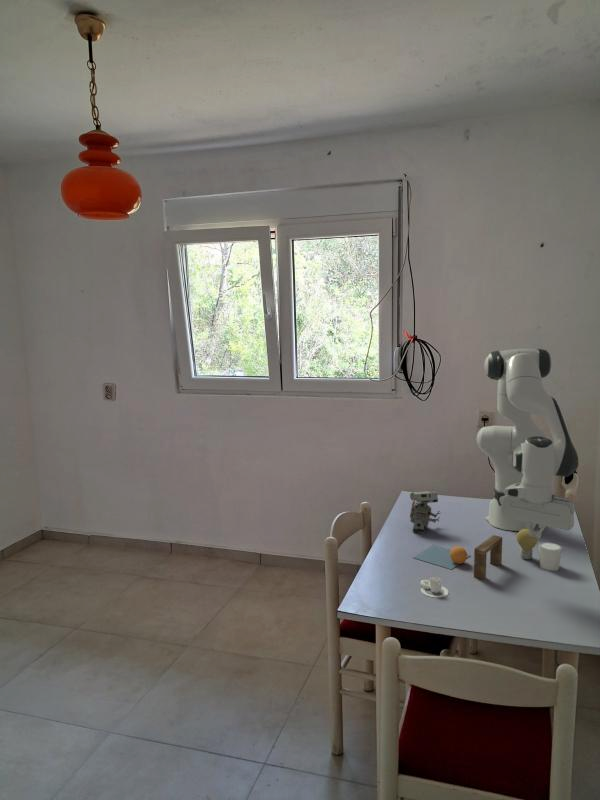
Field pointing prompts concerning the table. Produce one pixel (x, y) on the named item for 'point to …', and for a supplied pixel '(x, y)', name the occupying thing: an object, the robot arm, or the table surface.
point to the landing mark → (437, 557)
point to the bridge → (481, 551)
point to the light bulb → (526, 543)
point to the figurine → (422, 509)
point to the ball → (458, 555)
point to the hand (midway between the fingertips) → (535, 537)
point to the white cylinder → (549, 556)
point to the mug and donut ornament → (433, 587)
